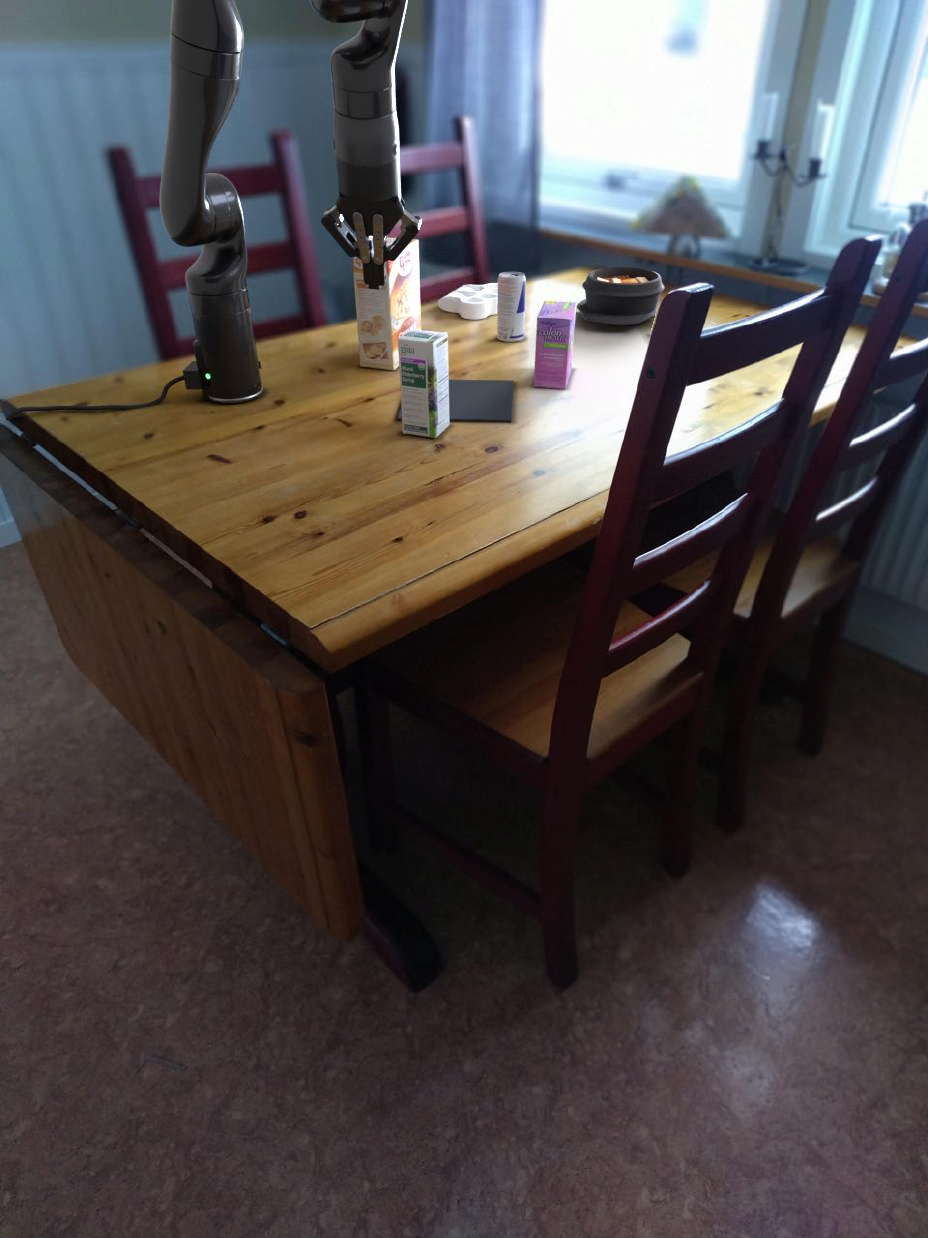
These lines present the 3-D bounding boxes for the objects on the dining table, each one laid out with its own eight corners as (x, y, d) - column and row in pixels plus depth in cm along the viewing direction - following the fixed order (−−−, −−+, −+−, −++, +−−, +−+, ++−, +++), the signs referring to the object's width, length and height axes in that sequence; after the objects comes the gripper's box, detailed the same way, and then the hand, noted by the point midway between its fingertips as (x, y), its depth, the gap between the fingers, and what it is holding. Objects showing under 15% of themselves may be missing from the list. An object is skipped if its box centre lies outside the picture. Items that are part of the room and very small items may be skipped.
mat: (397, 420, 134) (396, 418, 133) (410, 381, 148) (410, 379, 148) (511, 422, 133) (511, 419, 132) (513, 382, 147) (513, 380, 147)
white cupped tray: (464, 294, 196) (524, 300, 191) (431, 314, 182) (494, 322, 177) (464, 279, 194) (524, 285, 189) (430, 298, 180) (494, 305, 175)
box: (566, 389, 144) (571, 318, 137) (533, 387, 145) (535, 316, 138) (572, 369, 153) (577, 301, 146) (541, 367, 154) (543, 300, 147)
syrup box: (401, 434, 129) (396, 337, 121) (417, 420, 134) (413, 326, 125) (435, 439, 127) (432, 342, 119) (451, 425, 132) (449, 330, 123)
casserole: (655, 337, 168) (660, 293, 163) (563, 329, 173) (565, 286, 168) (673, 304, 187) (678, 264, 182) (590, 298, 192) (592, 258, 187)
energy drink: (528, 336, 169) (530, 273, 162) (515, 343, 165) (517, 279, 158) (505, 332, 171) (506, 270, 164) (491, 339, 168) (492, 275, 161)
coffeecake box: (394, 371, 153) (388, 255, 142) (358, 367, 155) (349, 253, 144) (423, 346, 165) (420, 238, 153) (390, 343, 166) (383, 235, 155)
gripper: (428, 139, 101) (429, 276, 115) (319, 130, 102) (333, 267, 115) (418, 167, 96) (420, 306, 110) (304, 157, 97) (320, 296, 111)
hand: (375, 286), depth 113 cm, fingers closed
